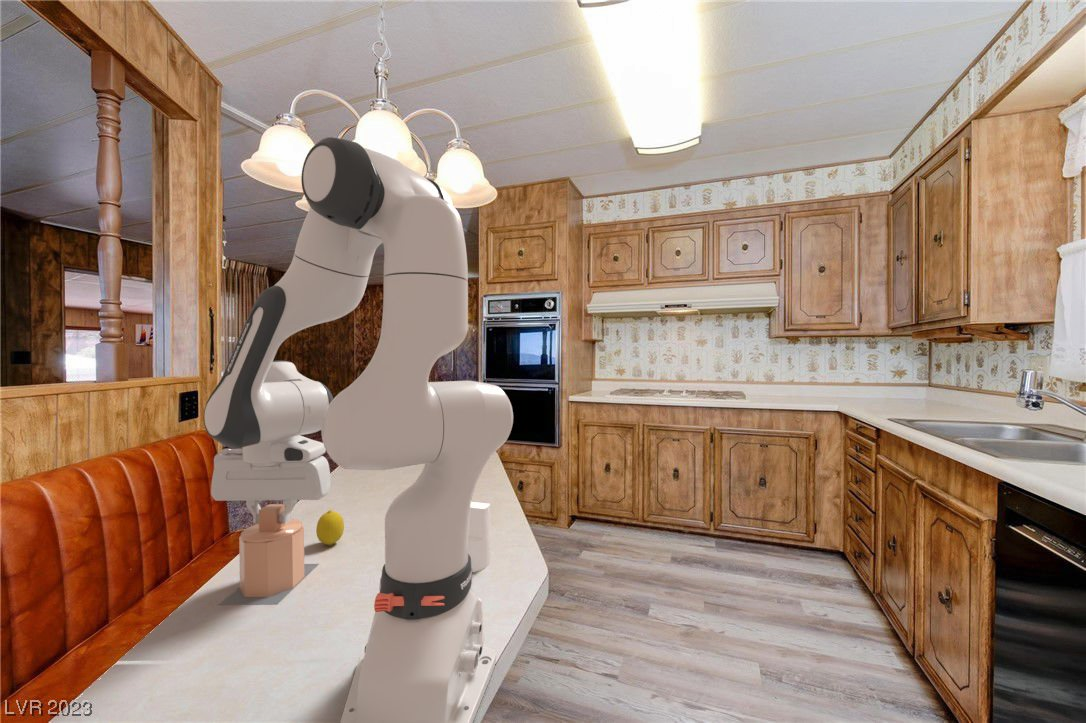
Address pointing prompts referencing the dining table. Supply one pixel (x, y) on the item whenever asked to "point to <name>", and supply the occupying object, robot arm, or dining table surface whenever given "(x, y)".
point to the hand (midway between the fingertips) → (272, 522)
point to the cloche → (271, 554)
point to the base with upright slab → (479, 535)
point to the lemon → (330, 527)
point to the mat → (240, 599)
